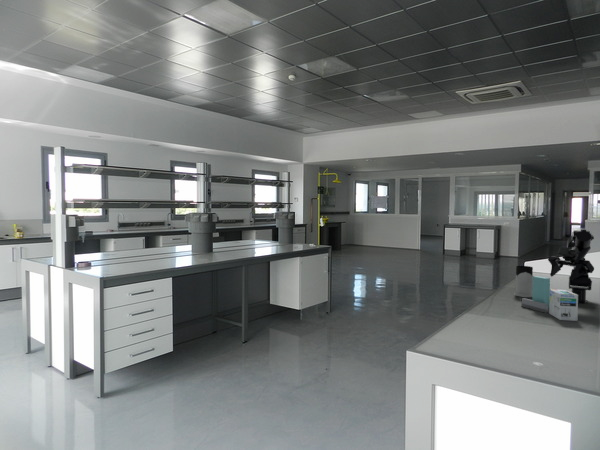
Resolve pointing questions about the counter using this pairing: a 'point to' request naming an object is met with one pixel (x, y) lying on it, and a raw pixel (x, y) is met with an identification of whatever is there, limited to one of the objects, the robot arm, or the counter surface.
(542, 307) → the floor track
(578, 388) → the counter surface
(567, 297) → the light bulb box
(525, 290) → the glass holder
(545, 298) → the teal rectangular block
